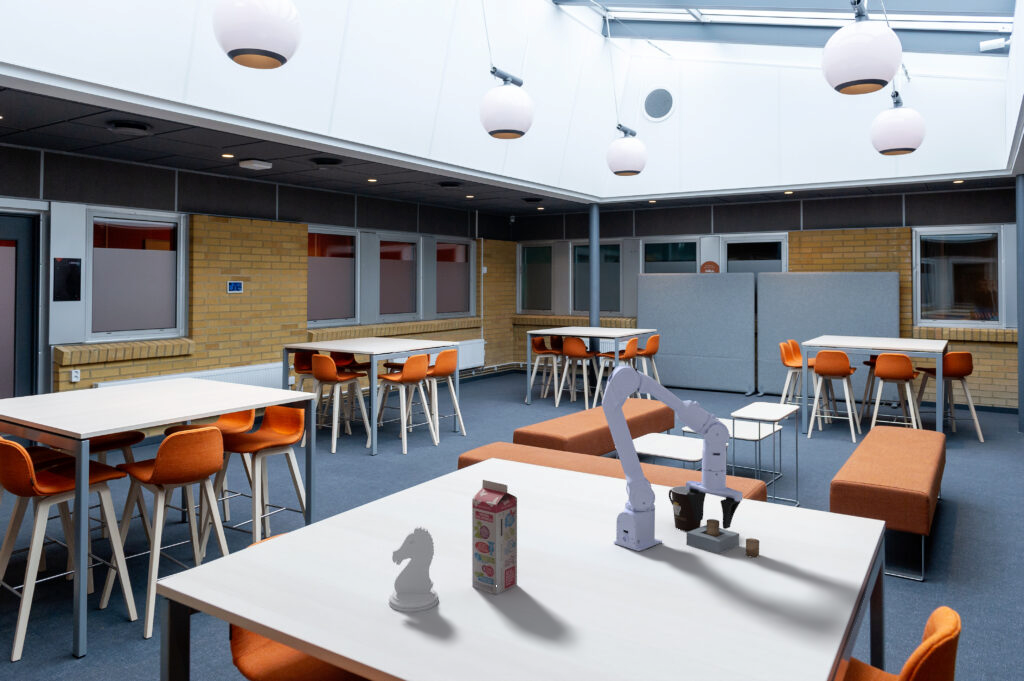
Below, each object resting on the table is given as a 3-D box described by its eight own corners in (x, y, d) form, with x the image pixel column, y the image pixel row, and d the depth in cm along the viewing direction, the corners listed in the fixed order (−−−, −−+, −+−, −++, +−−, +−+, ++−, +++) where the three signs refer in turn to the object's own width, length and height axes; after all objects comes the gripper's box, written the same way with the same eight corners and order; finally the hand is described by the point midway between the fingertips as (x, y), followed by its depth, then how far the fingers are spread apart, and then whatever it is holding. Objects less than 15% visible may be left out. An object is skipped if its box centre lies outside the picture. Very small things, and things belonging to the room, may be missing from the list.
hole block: (718, 554, 168) (719, 541, 168) (686, 544, 175) (686, 532, 174) (738, 545, 174) (739, 533, 174) (706, 536, 181) (707, 524, 181)
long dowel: (715, 548, 172) (715, 523, 172) (704, 545, 174) (704, 521, 174) (721, 545, 174) (721, 521, 174) (710, 542, 176) (710, 518, 176)
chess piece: (392, 591, 146) (391, 519, 146) (440, 591, 147) (439, 519, 146) (385, 612, 137) (384, 535, 136) (436, 611, 137) (436, 535, 136)
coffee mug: (708, 532, 183) (708, 494, 183) (674, 532, 184) (675, 494, 183) (697, 519, 195) (697, 483, 194) (665, 518, 195) (666, 482, 195)
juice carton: (492, 577, 154) (492, 476, 153) (516, 584, 150) (517, 481, 149) (472, 586, 149) (472, 482, 148) (496, 594, 145) (496, 488, 143)
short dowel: (754, 558, 166) (755, 543, 165) (743, 554, 168) (743, 540, 168) (761, 555, 168) (761, 540, 167) (749, 551, 170) (750, 537, 170)
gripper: (749, 471, 171) (748, 527, 171) (697, 461, 181) (696, 513, 182) (734, 476, 166) (732, 533, 167) (681, 465, 177) (680, 519, 177)
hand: (712, 523), depth 174 cm, fingers open, 7 cm apart
